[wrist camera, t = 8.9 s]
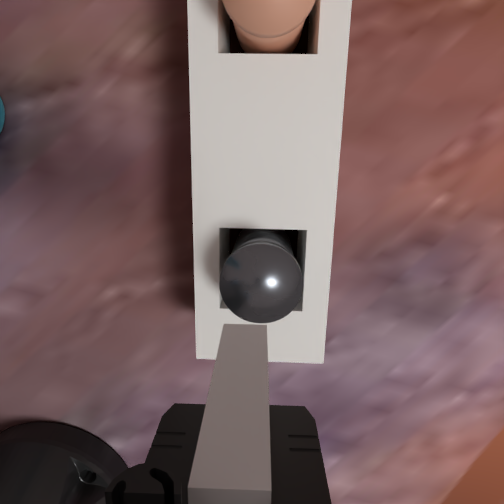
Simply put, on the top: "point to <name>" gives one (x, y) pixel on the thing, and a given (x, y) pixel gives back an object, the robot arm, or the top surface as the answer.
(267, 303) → the plunger graphite
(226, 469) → the robot arm
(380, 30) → the top surface
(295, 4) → the tan rounded peg
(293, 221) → the block
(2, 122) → the tube
